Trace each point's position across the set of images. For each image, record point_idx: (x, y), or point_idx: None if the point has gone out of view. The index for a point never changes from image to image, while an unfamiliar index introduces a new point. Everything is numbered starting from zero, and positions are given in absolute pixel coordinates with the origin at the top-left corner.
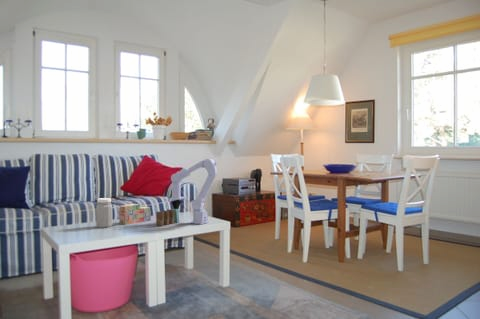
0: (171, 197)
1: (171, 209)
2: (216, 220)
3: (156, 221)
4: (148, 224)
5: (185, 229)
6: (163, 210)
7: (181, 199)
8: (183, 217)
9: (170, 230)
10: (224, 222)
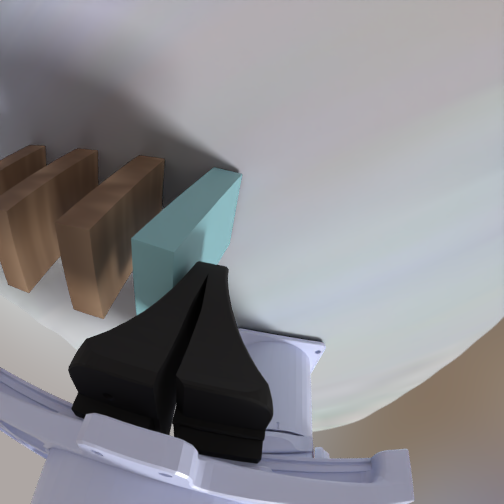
0: (81, 447)
1: (132, 254)
2: (377, 397)
3: (6, 159)
4: (33, 53)
5: (77, 347)
6: (5, 212)
7: (328, 468)
8: (494, 166)
9: (20, 297)
10: (324, 427)
